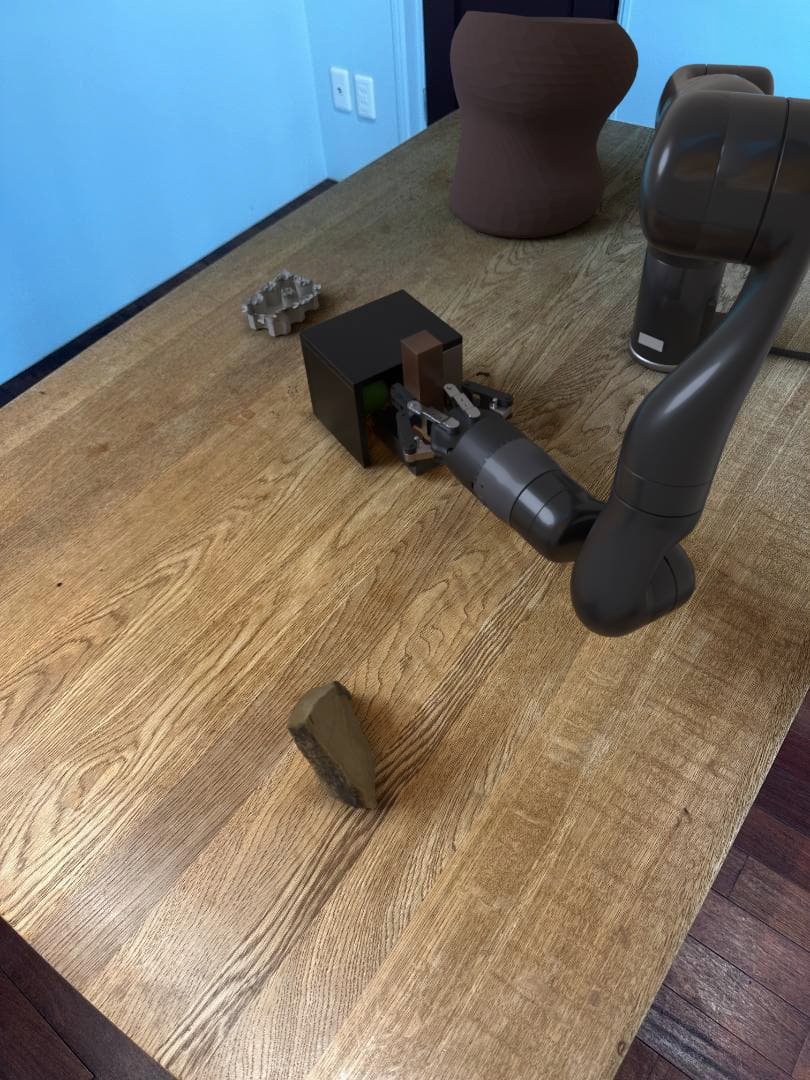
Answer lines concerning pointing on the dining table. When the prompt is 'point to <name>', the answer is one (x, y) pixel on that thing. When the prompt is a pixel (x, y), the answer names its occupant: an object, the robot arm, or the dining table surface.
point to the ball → (375, 397)
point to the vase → (534, 118)
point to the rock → (334, 744)
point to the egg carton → (281, 303)
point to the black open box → (368, 361)
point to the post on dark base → (415, 393)
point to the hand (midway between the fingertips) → (409, 384)
